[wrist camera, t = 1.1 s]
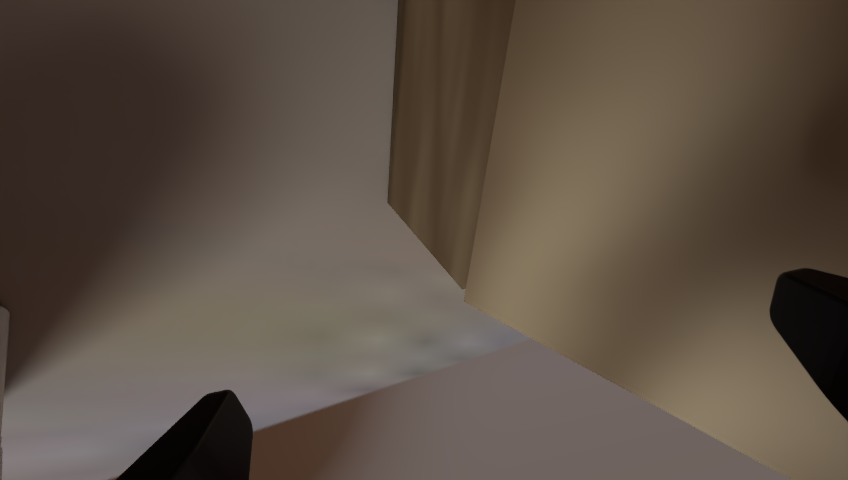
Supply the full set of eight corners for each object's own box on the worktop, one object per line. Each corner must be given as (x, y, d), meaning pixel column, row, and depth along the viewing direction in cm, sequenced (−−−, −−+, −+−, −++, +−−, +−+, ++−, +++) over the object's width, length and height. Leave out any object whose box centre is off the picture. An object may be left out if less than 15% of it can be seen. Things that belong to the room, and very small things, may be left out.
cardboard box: (387, 202, 22) (462, 289, 18) (411, -260, 14) (558, -287, 10) (605, 156, 27) (701, 215, 23) (717, -200, 19) (892, -201, 15)
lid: (473, 292, 18) (463, 301, 18) (579, -287, 10) (565, -294, 9) (903, 519, 13) (903, 540, 12) (1908, -321, 5) (2006, -342, 4)
